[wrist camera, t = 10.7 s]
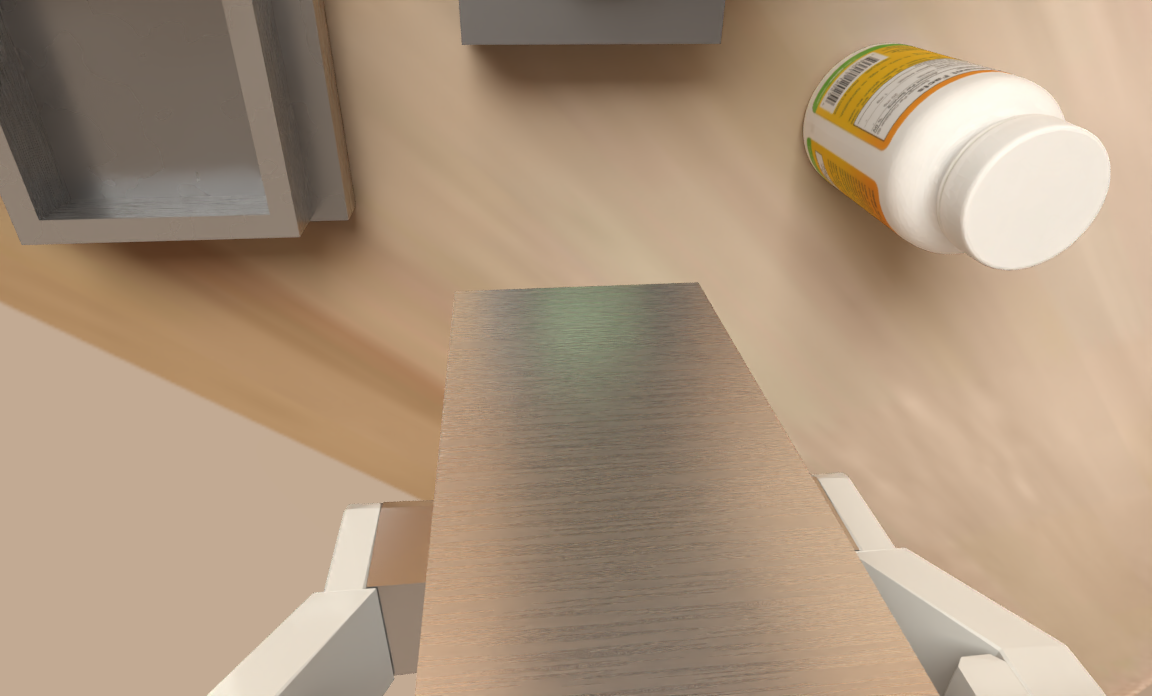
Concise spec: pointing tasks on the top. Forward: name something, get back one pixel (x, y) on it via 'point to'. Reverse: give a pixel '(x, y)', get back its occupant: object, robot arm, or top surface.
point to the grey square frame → (591, 22)
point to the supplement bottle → (956, 155)
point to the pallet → (169, 120)
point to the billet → (633, 516)
